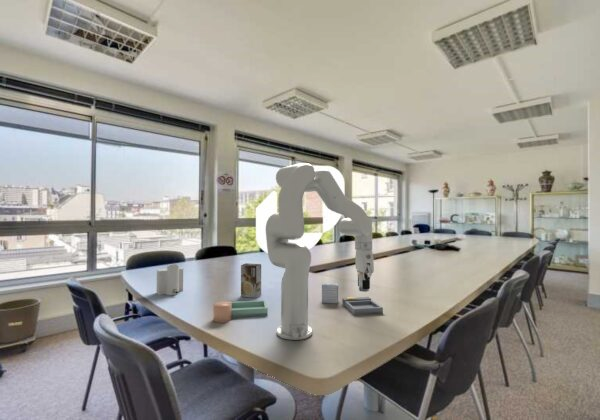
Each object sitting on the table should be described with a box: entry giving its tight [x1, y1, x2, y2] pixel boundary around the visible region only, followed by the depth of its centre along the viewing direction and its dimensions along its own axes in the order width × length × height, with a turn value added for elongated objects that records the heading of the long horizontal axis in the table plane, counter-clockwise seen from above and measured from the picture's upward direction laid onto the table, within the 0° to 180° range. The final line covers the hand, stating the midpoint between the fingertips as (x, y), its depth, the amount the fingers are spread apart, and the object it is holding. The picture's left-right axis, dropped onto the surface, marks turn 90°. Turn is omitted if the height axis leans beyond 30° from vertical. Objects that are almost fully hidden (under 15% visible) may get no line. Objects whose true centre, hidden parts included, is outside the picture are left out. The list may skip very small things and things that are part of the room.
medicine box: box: [321, 282, 339, 304], centre depth 139 cm, size 8×4×9 cm, turn 84°
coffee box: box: [240, 262, 262, 299], centre depth 149 cm, size 9×6×16 cm
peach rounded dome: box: [212, 301, 232, 324], centre depth 115 cm, size 7×7×6 cm
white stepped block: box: [156, 263, 184, 296], centre depth 152 cm, size 12×14×15 cm
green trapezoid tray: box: [230, 299, 269, 319], centre depth 124 cm, size 11×16×3 cm
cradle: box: [341, 296, 384, 316], centre depth 129 cm, size 14×13×3 cm
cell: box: [358, 271, 370, 293], centre depth 128 cm, size 4×4×8 cm
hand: (363, 287), depth 128 cm, fingers closed on cell, 4 cm apart
